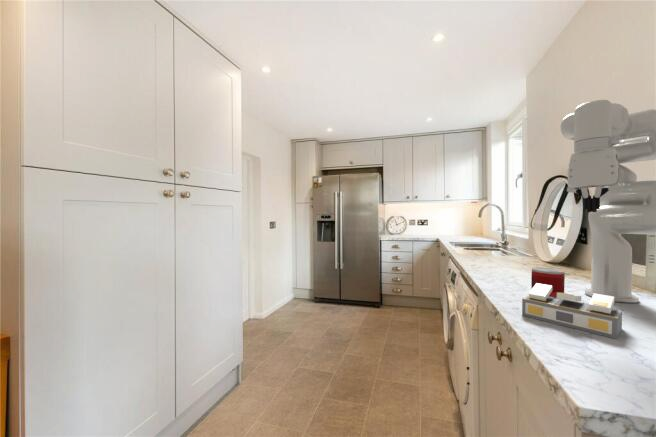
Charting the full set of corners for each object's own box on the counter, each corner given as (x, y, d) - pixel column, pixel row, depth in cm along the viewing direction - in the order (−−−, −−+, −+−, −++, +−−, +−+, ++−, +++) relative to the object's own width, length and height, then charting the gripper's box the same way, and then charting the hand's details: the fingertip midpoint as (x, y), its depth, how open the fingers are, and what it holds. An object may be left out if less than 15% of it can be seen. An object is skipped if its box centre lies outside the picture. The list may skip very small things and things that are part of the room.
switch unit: (532, 308, 80) (532, 292, 80) (621, 328, 65) (622, 309, 65) (521, 315, 74) (521, 298, 74) (616, 339, 60) (617, 318, 60)
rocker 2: (563, 298, 73) (563, 292, 73) (581, 301, 70) (581, 295, 70) (556, 297, 69) (556, 292, 69) (575, 301, 66) (575, 295, 66)
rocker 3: (594, 298, 69) (593, 292, 68) (614, 301, 66) (614, 296, 65) (588, 309, 64) (588, 303, 64) (610, 313, 62) (610, 307, 61)
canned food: (570, 309, 79) (570, 272, 79) (539, 307, 81) (540, 271, 81) (554, 301, 87) (554, 267, 86) (526, 299, 88) (526, 266, 88)
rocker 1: (536, 287, 78) (536, 282, 78) (552, 290, 75) (552, 285, 75) (529, 297, 74) (528, 292, 74) (545, 301, 71) (545, 295, 71)
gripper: (633, 143, 72) (632, 211, 72) (560, 153, 83) (561, 211, 84) (631, 139, 67) (630, 212, 68) (554, 150, 79) (554, 212, 79)
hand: (592, 211), depth 76 cm, fingers closed
